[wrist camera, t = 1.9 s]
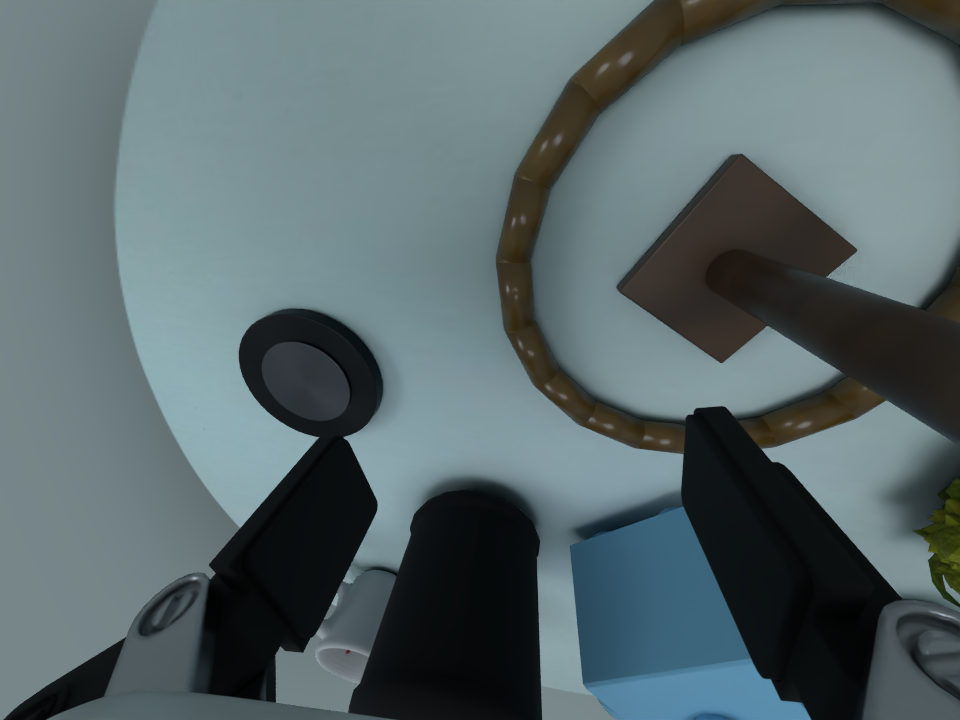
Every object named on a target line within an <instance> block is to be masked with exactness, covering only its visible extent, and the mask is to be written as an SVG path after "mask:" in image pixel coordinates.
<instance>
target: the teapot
mask: <svg viewBox="0 0 960 720" xmlns="http://www.w3.org/2000/svg"><path fill="white" fill-rule="evenodd" d="M570 551H571V562H572V572H573V583H574V593H575V604H576V614H577V625H578V635H579V646H580V656H581V667H582V677H583V684H584V685H585V687H586V689H587V690H589V691H590V692H591V693H592V694H593V695H595V696H596V697H597V699H598V701H599V702H600V704H601V705H602V706H603V708H604V709H605V710H606V711H607V712H608V713H609V714H610V715H611V716H613V717H614V718H615V719H617V720H811V719H810V717H809V715H808V713H807V711H806V709H805V707H804V705H803V703H799V702H789V701H781V700H780V698H779V696H778V694H777V692H776V690H775V687H774V685H773V683H772V681H771V679H764V678H762V677H761V676H760V675H759V673H758V672H757V670H756V668H755V666H754V664H753V662H752V660H751V657H750V655H749V653H748V651H747V648H746V646H745V644H744V642H743V639H742V637H741V635H740V633H739V630H738V628H737V626H736V624H735V621H734V619H733V617H732V615H731V612H730V610H729V608H728V606H727V603H726V601H725V599H724V597H723V594H722V592H721V590H720V588H719V586H718V583H717V581H716V579H715V577H714V574H713V572H712V570H711V568H710V565H709V563H708V561H707V559H706V556H705V554H704V552H703V550H702V547H701V545H700V543H699V541H698V538H697V536H696V534H695V532H694V529H693V527H692V525H691V523H690V520H689V518H688V516H687V514H686V512H685V509H684V506H683V507H670V508H666V509H664V510H662V511H661V512H659V514H658V515H657V516H654V517H651V518H648V519H646V520H643V521H640V522H637V523H634V524H631V525H628V526H625V527H622V528H620V529H617V530H614V531H611V532H609V531H602V532H598V533H596V534H594V535H593V536H592V538H591V539H588V540H585V541H582V542H579V543H576V544H573V545H571V546H570Z"/></svg>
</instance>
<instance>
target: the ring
mask: <svg viewBox="0 0 960 720" xmlns="http://www.w3.org/2000/svg"><path fill="white" fill-rule="evenodd" d="M841 3H882V4H884V5H886V6H888V7H890V8H891V9H893V10H895V11H897V12H899V13H901V14H903V15H905V16H907V17H908V18H910V19H912V20H914V21H916V22H918V23H920V24H922V25H924V26H925V27H927V28H929V29H931V30H933V31H935V32H937V33H939V34H941V35H942V36H944V37H946V38H948V39H950V40H952V41H954V42H956V43H958V44H959V46H960V0H654V1H653V2H652V3H650V4H649V5H648V6H647V7H646V8H645V9H644V10H643V11H642V12H641V13H640V14H639V15H638V16H637V17H635V18H634V19H633V20H632V21H631V22H630V23H629V24H628V25H627V26H626V27H625V28H624V29H623V30H621V31H620V32H619V33H618V34H617V35H616V36H615V37H614V38H613V39H612V40H611V41H610V42H609V43H607V44H606V45H605V46H604V47H603V48H602V49H601V50H600V51H599V52H598V53H597V54H596V55H595V56H594V57H592V58H591V59H590V60H589V61H588V62H587V63H586V64H585V65H584V66H583V67H582V68H581V69H580V70H578V71H577V72H576V73H575V74H574V75H573V76H572V77H571V79H570V80H569V81H568V83H567V85H566V86H565V88H564V90H563V91H562V93H561V95H560V97H559V98H558V100H557V102H556V103H555V105H554V107H553V109H552V110H551V112H550V114H549V115H548V117H547V119H546V121H545V122H544V124H543V126H542V127H541V129H540V131H539V133H538V134H537V136H536V138H535V139H534V141H533V143H532V145H531V146H530V148H529V150H528V151H527V153H526V155H525V157H524V158H523V160H522V162H521V163H520V165H519V167H518V168H517V170H516V172H515V175H514V179H513V183H512V188H511V192H510V197H509V201H508V206H507V210H506V215H505V219H504V223H503V228H502V232H501V237H500V241H499V246H498V250H497V255H496V266H497V275H498V283H499V292H500V300H501V308H502V317H503V325H504V330H505V332H506V334H507V336H508V338H509V340H510V342H511V344H512V346H513V348H514V350H515V351H516V353H517V355H518V357H519V359H520V361H521V363H522V365H523V367H524V369H525V370H526V372H527V374H528V376H529V378H530V380H531V382H532V383H533V385H534V386H535V387H536V388H537V389H538V390H539V391H541V392H542V393H543V394H544V395H545V396H546V397H547V398H548V399H550V400H551V401H552V402H553V403H554V404H555V405H556V406H558V407H559V408H560V409H561V410H562V411H563V412H564V413H565V414H567V415H568V416H569V417H570V418H571V419H572V420H573V421H575V422H576V423H577V424H579V425H580V426H583V427H585V428H588V429H590V430H592V431H595V432H597V433H599V434H602V435H604V436H607V437H609V438H611V439H614V440H616V441H619V442H621V443H623V444H626V445H628V446H630V447H633V448H637V449H645V450H654V451H662V452H671V453H679V454H684V442H685V427H686V425H681V424H672V423H663V422H654V421H645V420H639V419H637V418H635V417H632V416H630V415H628V414H625V413H623V412H621V411H618V410H616V409H613V408H611V407H609V406H606V405H604V404H602V403H599V402H597V401H595V400H593V399H592V398H591V397H590V396H589V395H588V394H587V393H585V392H584V391H583V390H582V389H581V388H580V387H579V386H578V385H577V384H576V383H575V382H574V381H572V380H571V379H570V378H569V377H568V376H567V375H566V374H565V373H564V372H563V371H562V370H561V369H559V368H558V366H557V364H556V362H555V360H554V358H553V356H552V354H551V352H550V350H549V348H548V346H547V344H546V342H545V339H544V337H543V335H542V333H541V331H540V329H539V327H538V325H537V323H536V321H535V310H534V296H533V282H532V269H531V258H532V255H533V251H534V247H535V244H536V240H537V237H538V233H539V229H540V226H541V222H542V219H543V215H544V211H545V208H546V204H547V201H548V197H549V193H550V190H551V188H552V187H553V185H554V183H555V182H556V180H557V179H558V177H559V176H560V174H561V173H562V171H563V170H564V168H565V167H566V165H567V163H568V162H569V160H570V159H571V157H572V156H573V154H574V153H575V151H576V150H577V148H578V147H579V145H580V143H581V142H582V140H583V139H584V137H585V136H586V134H587V133H588V131H589V130H590V128H591V127H592V125H593V124H594V122H595V120H596V119H597V117H598V116H599V114H600V113H602V112H603V111H604V110H605V109H606V108H607V107H609V106H610V105H611V104H612V103H613V102H615V101H616V100H617V99H618V98H619V97H620V96H622V95H623V94H624V93H625V92H626V91H627V90H629V89H630V88H631V87H632V86H633V85H635V84H636V83H637V82H638V81H639V80H640V79H642V78H643V77H644V76H645V75H646V74H647V73H649V72H650V71H651V70H652V69H653V68H655V67H656V66H657V65H658V64H659V63H660V62H662V61H663V60H664V59H665V58H666V57H667V56H669V55H670V54H671V53H672V52H673V51H675V50H676V49H677V48H678V47H680V46H682V45H685V44H687V43H689V42H692V41H694V40H696V39H699V38H701V37H704V36H706V35H708V34H711V33H713V32H716V31H718V30H720V29H723V28H725V27H727V26H730V25H732V24H735V23H737V22H739V21H742V20H744V19H746V18H749V17H751V16H754V15H756V14H758V13H761V12H763V11H766V10H768V9H770V8H773V7H775V6H777V5H796V4H841ZM925 311H928V312H931V313H934V314H937V315H940V316H943V317H946V318H949V319H952V320H955V321H958V322H960V264H959V266H958V268H957V270H956V272H955V274H954V276H953V279H952V281H951V283H950V284H949V285H948V286H947V287H946V288H945V289H944V290H943V292H942V293H941V294H940V295H939V296H938V297H937V298H936V299H935V300H934V301H933V302H932V304H931V305H930V306H929V307H928V308H927V309H926V310H925ZM885 401H886V399H884V398H883V397H881V396H879V395H878V394H876V393H875V392H873V391H871V390H870V389H868V388H867V387H865V386H863V385H862V384H860V383H859V382H857V381H855V380H854V379H852V378H851V377H849V376H847V377H846V378H845V379H843V380H842V381H840V382H839V383H837V384H836V385H834V386H833V387H831V388H830V389H828V390H827V391H825V392H822V393H820V394H817V395H815V396H812V397H809V398H807V399H804V400H802V401H799V402H797V403H794V404H791V405H789V406H786V407H784V408H781V409H778V410H776V411H773V412H771V413H768V414H766V415H763V416H760V417H757V418H750V419H743V420H737V421H738V422H739V423H740V425H741V426H742V427H743V428H744V429H745V431H746V432H747V433H748V434H749V435H750V437H751V438H752V439H753V440H754V441H755V443H756V444H757V445H758V446H759V447H760V449H764V448H772V447H777V446H780V445H783V444H785V443H788V442H791V441H794V440H797V439H800V438H803V437H805V436H808V435H811V434H814V433H817V432H820V431H823V430H826V429H828V428H831V427H834V426H837V425H840V424H843V423H846V422H848V421H851V420H854V419H856V418H858V417H860V416H861V415H863V414H865V413H866V412H868V411H870V410H871V409H873V408H875V407H876V406H878V405H880V404H881V403H883V402H885Z"/></svg>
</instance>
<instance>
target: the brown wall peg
mask: <svg viewBox="0 0 960 720" xmlns="http://www.w3.org/2000/svg"><path fill="white" fill-rule="evenodd" d="M855 252H857V249H856V248H855V247H854V246H852V245H851V244H850V243H849V242H848V241H846V240H845V239H844V238H843V237H842V236H840V235H839V234H838V233H837V232H836V231H834V230H833V229H832V228H831V227H830V226H828V225H827V224H826V223H825V222H824V221H822V220H821V219H820V218H819V217H817V216H816V215H815V214H814V213H813V212H811V211H810V210H809V209H808V208H807V207H805V206H804V205H803V204H802V203H801V202H799V201H798V200H797V199H796V198H795V197H793V196H792V195H791V194H790V193H789V192H787V191H786V190H785V189H784V188H783V187H781V186H780V185H779V184H778V183H777V182H775V181H774V180H773V179H772V178H771V177H769V176H768V175H767V174H766V173H764V172H763V171H762V170H761V169H760V168H758V167H757V166H756V165H755V164H754V163H752V162H751V161H750V160H749V159H748V158H746V157H745V156H744V155H743V154H736V155H731V156H730V157H729V158H728V159H727V160H726V162H725V163H724V164H723V165H722V166H721V167H720V168H719V170H718V171H717V172H716V173H715V174H714V175H713V176H712V178H711V179H710V180H709V181H708V182H707V183H706V184H705V186H704V187H703V188H702V189H701V190H700V191H699V193H698V194H697V195H696V196H695V197H694V198H693V199H692V201H691V202H690V203H689V204H688V205H687V206H686V207H685V209H684V210H683V211H682V212H681V213H680V214H679V216H678V217H677V218H676V219H675V220H674V221H673V222H672V224H671V225H670V226H669V227H668V228H667V229H666V230H665V232H664V233H663V234H662V235H661V236H660V237H659V238H658V240H657V241H656V242H655V243H654V244H653V245H652V247H651V248H650V249H649V250H648V251H647V252H646V253H645V255H644V256H643V257H642V258H641V259H640V260H639V261H638V263H637V264H636V265H635V266H634V267H633V268H632V269H631V271H630V272H629V273H628V274H627V275H626V276H625V278H624V279H623V280H622V281H621V282H620V283H619V284H618V286H617V289H618V290H619V292H620V293H622V294H623V295H625V296H626V297H627V298H629V299H630V300H632V301H633V302H635V303H636V304H637V305H639V306H640V307H642V308H643V309H644V310H646V311H647V312H649V313H650V314H652V315H653V316H654V317H656V318H657V319H659V320H660V321H662V322H663V323H664V324H666V325H667V326H669V327H670V328H672V329H673V330H674V331H676V332H677V333H679V334H680V335H682V336H683V337H684V338H686V339H687V340H689V341H690V342H691V343H693V344H694V345H696V346H697V347H699V348H700V349H701V350H703V351H704V352H706V353H707V354H709V355H710V356H711V357H713V358H714V359H716V360H717V361H719V362H720V363H723V362H724V361H725V360H726V359H727V358H729V357H730V356H731V355H732V354H734V353H735V352H736V351H737V350H738V349H740V348H741V347H742V346H743V345H744V344H746V343H747V342H748V341H749V340H750V339H752V338H753V337H754V336H755V335H756V334H758V333H759V332H760V331H761V330H763V329H764V328H765V327H766V326H769V327H771V328H772V329H774V330H775V331H777V332H779V333H780V334H782V335H783V336H785V337H787V338H788V339H790V340H791V341H793V342H795V343H796V344H798V345H799V346H801V347H803V348H804V349H806V350H807V351H809V352H811V353H812V354H814V355H815V356H817V357H819V358H820V359H822V360H823V361H825V362H827V363H828V364H830V365H831V366H833V367H835V368H836V369H838V370H839V371H841V372H843V373H844V374H846V375H847V376H849V377H851V378H852V379H854V380H855V381H857V382H859V383H860V384H862V385H863V386H865V387H867V388H868V389H870V390H871V391H873V392H875V393H876V394H878V395H879V396H881V397H883V398H884V399H886V400H887V401H889V402H891V403H892V404H894V405H895V406H897V407H899V408H900V409H902V410H903V411H905V412H907V413H908V414H910V415H911V416H913V417H915V418H916V419H918V420H919V421H921V422H923V423H924V424H926V425H927V426H929V427H931V428H932V429H934V430H935V431H937V432H939V433H940V434H942V435H943V436H945V437H946V438H948V439H950V440H951V441H953V442H954V443H956V444H958V445H959V446H960V322H958V321H955V320H952V319H949V318H946V317H943V316H940V315H937V314H934V313H931V312H928V311H925V310H922V309H919V308H916V307H913V306H910V305H907V304H904V303H901V302H898V301H895V300H892V299H889V298H886V297H883V296H880V295H877V294H874V293H871V292H868V291H865V290H862V289H859V288H856V287H853V286H850V285H847V284H844V283H841V282H838V281H835V280H832V279H829V278H826V277H827V276H828V275H829V274H830V273H831V272H833V271H834V270H835V269H836V268H837V267H839V266H840V265H841V264H842V263H843V262H845V261H846V260H847V259H848V258H849V257H851V256H852V255H853V254H854V253H855Z"/></svg>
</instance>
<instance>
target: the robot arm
mask: <svg viewBox="0 0 960 720" xmlns="http://www.w3.org/2000/svg"><path fill="white" fill-rule="evenodd" d="M681 497H682V503H683V506H684V509H685V512H686V514H687V516H688V518H689V520H690V523H691V525H692V527H693V529H694V532H695V534H696V536H697V538H698V541H699V543H700V545H701V547H702V550H703V552H704V554H705V556H706V559H707V561H708V563H709V565H710V568H711V570H712V572H713V574H714V577H715V579H716V581H717V583H718V586H719V588H720V590H721V592H722V594H723V597H724V599H725V601H726V603H727V606H728V608H729V610H730V612H731V615H732V617H733V619H734V621H735V624H736V626H737V628H738V630H739V633H740V635H741V637H742V639H743V642H744V644H745V646H746V648H747V651H748V653H749V655H750V657H751V660H752V662H753V664H754V666H755V668H756V670H757V672H758V673H759V675H760V676H761V677H762V678H764V679H771V681H772V683H773V685H774V687H775V690H776V692H777V694H778V696H779V698H780V700H781V701H789V702H799V703H803V705H804V707H805V709H806V711H807V713H808V715H809V717H810V719H811V720H960V612H957V611H954V610H952V609H949V608H946V607H943V606H941V605H938V604H933V603H928V602H923V601H918V600H903V599H902V598H901V597H900V596H899V595H898V594H897V593H896V591H895V590H894V589H893V588H892V587H891V586H890V585H889V583H888V582H887V581H886V580H885V579H884V578H883V577H882V575H881V574H880V573H879V572H878V571H877V570H876V569H875V567H874V566H873V565H872V564H871V563H870V562H869V560H868V559H867V558H866V557H865V556H864V555H863V554H862V552H861V551H860V550H859V549H858V548H857V547H856V546H855V544H854V543H853V542H852V541H851V540H850V539H849V538H848V536H847V535H846V534H845V533H844V532H843V531H842V530H841V528H840V527H839V526H838V525H837V524H836V523H835V522H834V520H833V519H832V518H831V517H830V516H829V515H828V514H827V512H826V511H825V510H824V509H823V508H822V507H821V506H820V504H819V503H818V502H817V501H816V500H815V499H814V498H813V496H812V495H811V494H810V493H809V492H808V491H807V490H806V488H805V487H804V486H803V485H802V484H801V483H800V482H799V480H798V479H797V478H796V477H795V476H794V475H793V474H792V472H791V471H790V470H789V469H788V468H787V467H785V466H784V465H783V464H781V463H778V462H771V460H770V459H769V458H768V457H767V456H766V454H765V453H764V452H763V451H762V450H761V449H760V447H759V446H758V445H757V444H756V443H755V441H754V440H753V439H752V438H751V437H750V435H749V434H748V433H747V432H746V431H745V429H744V428H743V427H742V426H741V425H740V423H739V422H738V421H737V420H736V419H735V417H734V416H733V415H732V414H731V413H730V411H729V410H728V409H727V408H726V407H723V406H720V407H706V408H697V409H695V411H694V415H687V417H686V427H685V442H684V458H683V473H682V488H681ZM377 506H378V504H377V500H376V498H375V496H374V493H373V491H372V489H371V487H370V485H369V483H368V481H367V479H366V477H365V475H364V473H363V471H362V469H361V466H360V464H359V462H358V460H357V458H356V456H355V454H354V452H353V450H352V448H351V446H350V444H349V442H348V441H347V440H345V439H344V438H343V437H342V436H341V435H332V436H322V437H320V438H319V439H317V440H316V442H315V443H314V444H313V445H312V446H311V447H310V449H309V450H308V451H307V452H306V453H305V454H304V455H303V457H302V458H301V459H300V460H299V461H298V462H297V464H296V465H295V466H294V467H293V468H292V469H291V470H290V472H289V473H288V474H287V475H286V476H285V477H284V479H283V480H282V481H281V482H280V483H279V484H278V485H277V487H276V488H275V489H274V490H273V491H272V492H271V493H270V495H269V496H268V497H267V498H266V499H265V500H264V502H263V503H262V504H261V505H260V506H259V507H258V508H257V510H256V511H255V512H254V513H253V514H252V515H251V517H250V518H249V519H248V520H247V521H246V522H245V523H244V525H243V526H242V527H241V528H240V529H239V530H238V532H237V533H236V534H235V535H234V536H233V537H232V538H231V540H230V541H229V542H228V543H227V544H226V545H225V547H224V548H223V549H222V550H221V551H220V552H219V553H218V555H217V556H216V557H215V558H214V559H213V560H212V562H211V563H210V564H209V566H210V567H211V568H212V569H213V570H214V571H215V573H216V574H215V575H214V576H213V577H212V579H211V580H210V579H209V578H208V577H207V576H206V574H204V573H199V572H198V573H193V574H189V575H186V576H184V577H182V578H179V579H177V580H176V581H174V582H173V583H171V584H169V585H168V586H166V587H165V588H164V589H163V590H161V591H160V592H159V593H158V594H156V595H155V596H154V597H153V598H152V599H151V600H150V601H149V602H148V603H147V604H146V605H145V606H144V607H143V608H142V610H141V611H140V612H139V614H138V615H137V616H136V618H135V619H134V621H133V623H132V625H131V627H130V629H129V631H128V634H127V637H125V638H124V639H122V640H121V641H119V642H117V643H116V644H114V645H112V646H111V647H109V648H108V649H106V650H105V651H103V652H101V653H99V654H98V655H96V656H95V657H93V658H91V659H90V660H88V661H86V662H85V663H83V664H82V665H80V666H78V667H77V668H75V669H74V670H72V671H70V672H69V673H67V674H65V675H64V676H62V677H60V678H59V679H57V680H56V681H54V682H52V683H51V684H49V685H47V686H46V687H45V688H43V689H42V690H40V691H39V692H37V693H36V694H34V695H33V696H32V697H30V698H29V699H27V700H26V701H24V702H23V703H22V704H20V705H19V706H18V707H17V708H15V709H14V710H13V711H12V712H11V713H10V714H9V715H8V716H7V717H6V718H5V719H4V720H394V719H387V718H380V717H373V716H366V715H359V714H352V713H345V712H338V711H331V710H324V709H317V708H309V707H302V706H295V705H287V704H280V703H276V671H275V670H276V669H275V668H276V665H275V655H276V653H277V651H278V649H279V647H280V646H281V647H282V648H283V649H284V650H285V651H292V652H302V653H303V652H304V650H305V648H306V645H307V644H308V642H309V640H310V638H311V637H313V636H314V635H315V634H316V633H317V631H318V629H319V627H320V625H321V623H322V621H323V619H324V617H325V615H326V613H327V611H328V609H329V607H330V605H331V603H332V601H333V599H334V597H335V595H336V593H337V591H338V589H339V587H340V585H341V583H342V581H343V579H344V577H345V575H346V573H347V571H348V569H349V567H350V565H351V563H352V561H353V559H354V557H355V555H356V553H357V551H358V549H359V547H360V545H361V543H362V541H363V539H364V537H365V535H366V533H367V531H368V529H369V527H370V525H371V523H372V520H373V518H374V516H375V514H376V512H377Z"/></svg>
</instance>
